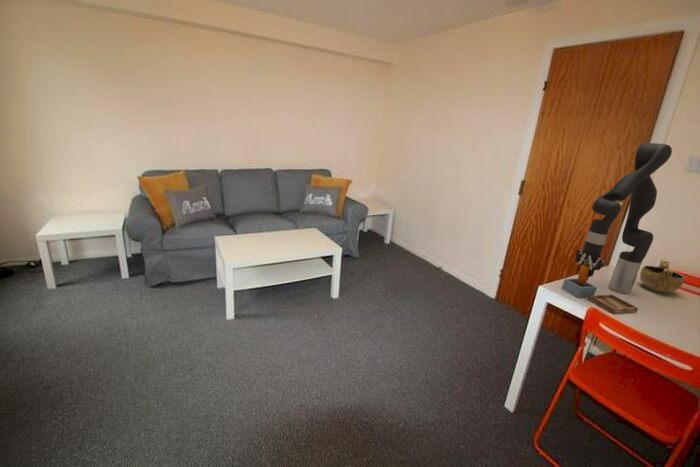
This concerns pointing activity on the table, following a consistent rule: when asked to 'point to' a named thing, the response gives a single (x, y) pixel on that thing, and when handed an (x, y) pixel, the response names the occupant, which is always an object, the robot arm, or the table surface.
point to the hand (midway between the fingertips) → (584, 273)
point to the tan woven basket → (661, 278)
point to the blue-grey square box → (578, 288)
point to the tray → (612, 304)
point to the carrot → (583, 273)
